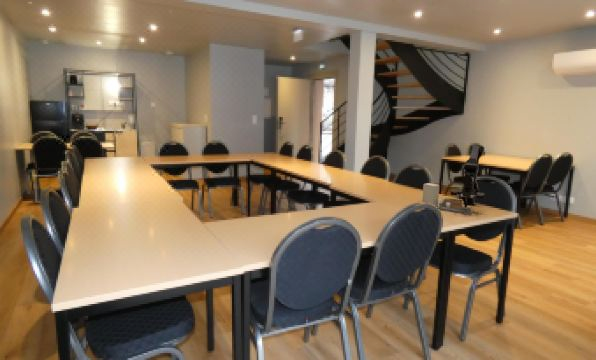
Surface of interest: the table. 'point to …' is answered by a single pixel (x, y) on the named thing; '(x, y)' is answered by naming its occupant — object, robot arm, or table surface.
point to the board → (447, 208)
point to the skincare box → (431, 193)
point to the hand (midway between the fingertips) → (465, 207)
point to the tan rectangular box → (453, 203)
